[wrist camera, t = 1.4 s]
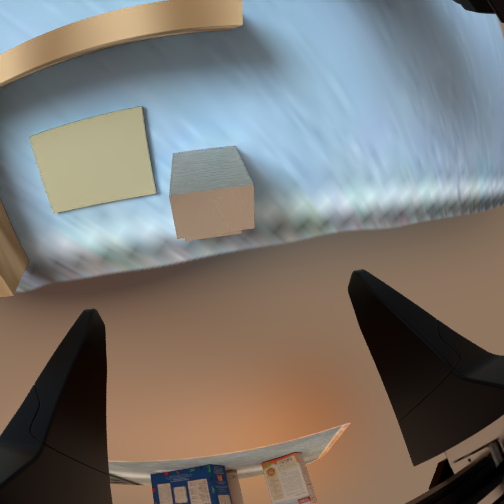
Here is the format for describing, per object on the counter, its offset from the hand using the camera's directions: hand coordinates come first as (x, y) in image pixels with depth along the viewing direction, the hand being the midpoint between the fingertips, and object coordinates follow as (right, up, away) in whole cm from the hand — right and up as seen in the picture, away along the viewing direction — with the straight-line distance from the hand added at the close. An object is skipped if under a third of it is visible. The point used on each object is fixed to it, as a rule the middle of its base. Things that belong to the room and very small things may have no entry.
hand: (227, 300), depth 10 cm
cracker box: (+11, -71, +77) cm, 105 cm away
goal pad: (-10, +7, +7) cm, 14 cm away
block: (-2, +6, +10) cm, 12 cm away
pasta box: (-22, -74, +71) cm, 105 cm away
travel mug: (-8, -80, +80) cm, 114 cm away
